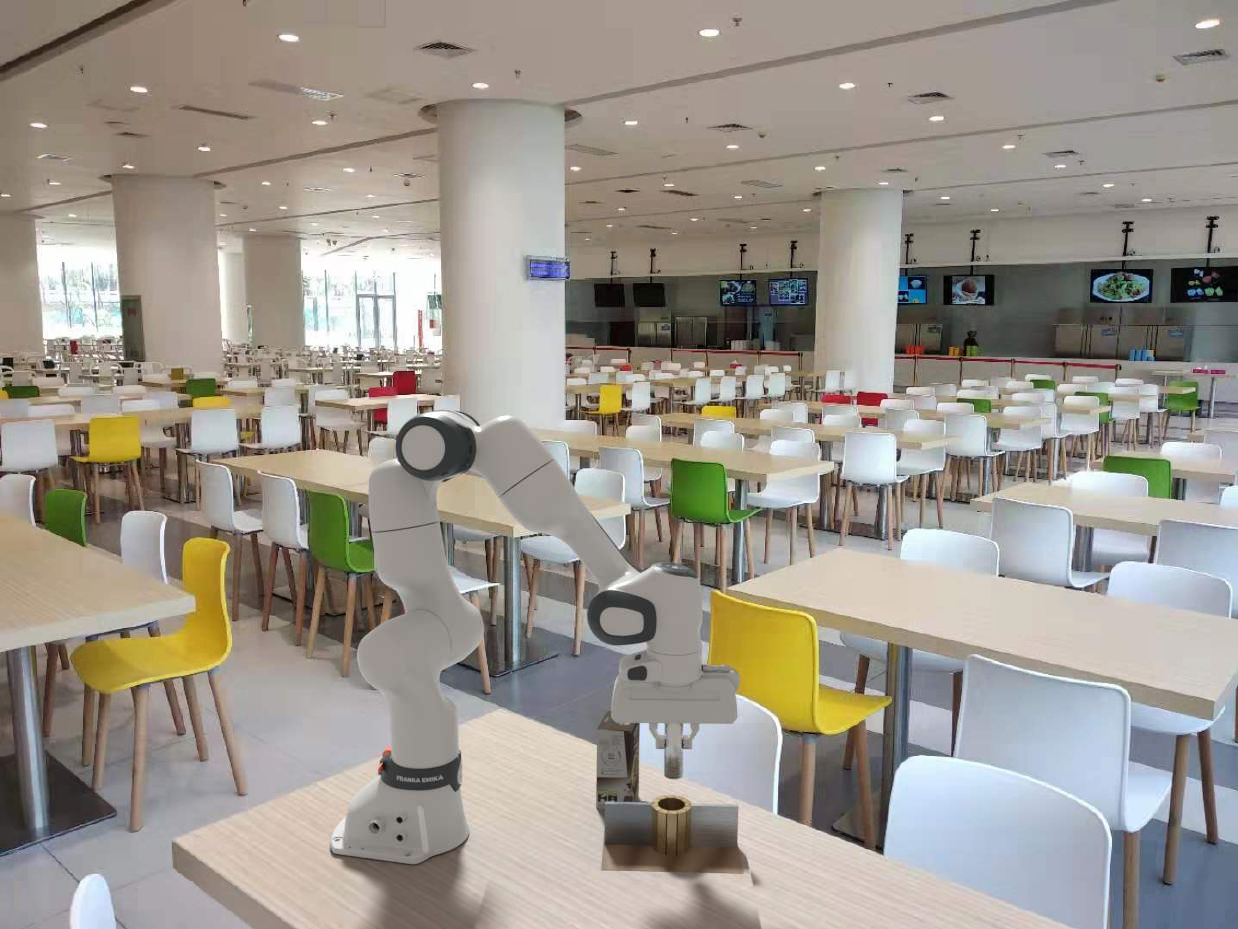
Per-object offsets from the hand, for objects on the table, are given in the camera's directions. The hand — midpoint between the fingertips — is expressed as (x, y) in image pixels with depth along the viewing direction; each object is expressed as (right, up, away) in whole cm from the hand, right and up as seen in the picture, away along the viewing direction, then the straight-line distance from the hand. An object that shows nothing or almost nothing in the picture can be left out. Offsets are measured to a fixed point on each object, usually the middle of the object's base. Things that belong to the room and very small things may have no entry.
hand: (673, 747), depth 154 cm
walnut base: (0, -18, 0) cm, 18 cm away
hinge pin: (0, -5, 0) cm, 5 cm away
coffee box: (-9, -16, +18) cm, 26 cm away
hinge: (0, -16, +2) cm, 17 cm away
